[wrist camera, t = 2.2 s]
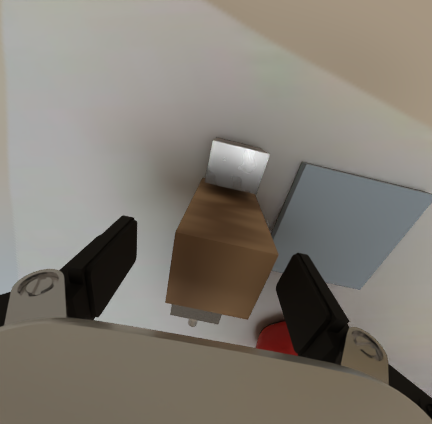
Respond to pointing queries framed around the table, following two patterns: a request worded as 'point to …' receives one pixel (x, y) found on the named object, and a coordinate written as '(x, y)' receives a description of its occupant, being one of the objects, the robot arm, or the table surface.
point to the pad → (344, 223)
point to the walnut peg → (221, 253)
